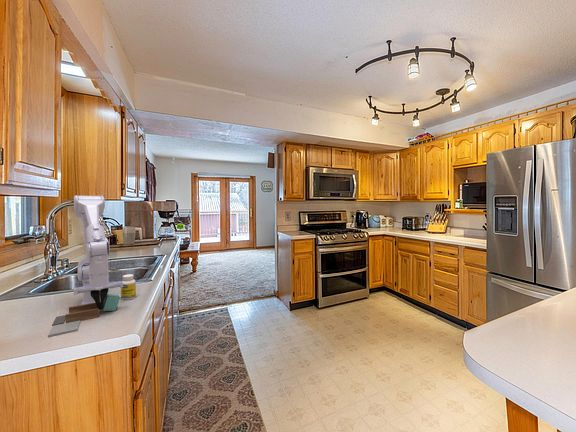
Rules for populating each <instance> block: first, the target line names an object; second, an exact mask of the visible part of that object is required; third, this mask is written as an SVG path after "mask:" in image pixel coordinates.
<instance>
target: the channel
mask: <svg viewBox="0 0 576 432" xmlns="http://www.w3.org/2000/svg"><path fill="white" fill-rule="evenodd" d="M64 315H65V322H64V323H70V322H74V321H79V320H80V322H82V321H86V320H87V321H88V320H91V319H97V318H99V317H100V310H99V308H98V307H97V305H96V303H89V304H83V305H81V304H77V305H73V306H69V307H68V313H65V314H64Z"/></svg>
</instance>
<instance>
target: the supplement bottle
mask: <svg viewBox="0 0 576 432" xmlns="http://www.w3.org/2000/svg"><path fill="white" fill-rule="evenodd" d="M122 281H123V287H121V288H120V298H121V300H123V301H124V300H125V301H126V300H127V301H128V300H133V299H134V298H136V296H137V289H136V288H137V286H136V285H137V283H136V279H134V274H130V273H129V274H124V275H122Z"/></svg>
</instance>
